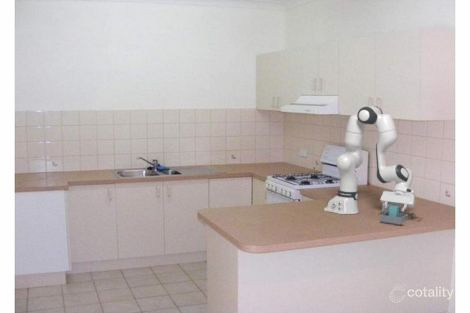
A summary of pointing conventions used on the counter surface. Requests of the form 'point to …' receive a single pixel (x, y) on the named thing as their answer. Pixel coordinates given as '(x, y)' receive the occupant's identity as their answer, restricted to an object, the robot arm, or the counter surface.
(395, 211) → the strut
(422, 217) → the brown wooden lid
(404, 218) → the bin
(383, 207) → the skincare box
